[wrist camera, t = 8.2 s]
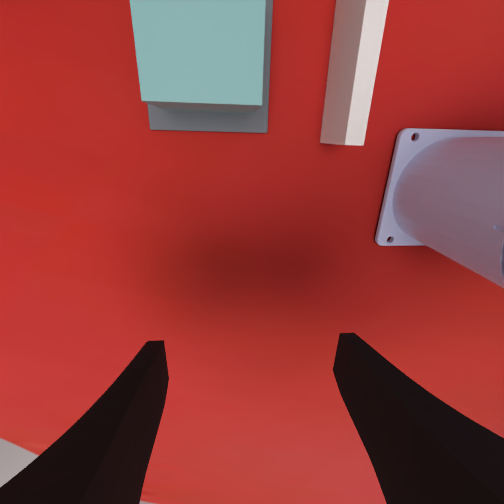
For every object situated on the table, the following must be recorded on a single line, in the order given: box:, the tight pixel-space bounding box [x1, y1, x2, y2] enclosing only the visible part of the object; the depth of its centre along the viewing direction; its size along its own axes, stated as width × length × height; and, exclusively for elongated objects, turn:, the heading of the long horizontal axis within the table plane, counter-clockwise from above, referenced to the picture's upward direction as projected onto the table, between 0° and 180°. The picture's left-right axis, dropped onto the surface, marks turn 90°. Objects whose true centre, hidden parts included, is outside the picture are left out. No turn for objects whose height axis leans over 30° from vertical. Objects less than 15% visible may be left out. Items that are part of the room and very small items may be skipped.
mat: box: [147, 0, 273, 133], centre depth 15 cm, size 7×7×1 cm
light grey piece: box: [320, 0, 389, 145], centre depth 13 cm, size 13×12×4 cm
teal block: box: [130, 0, 266, 114], centre depth 13 cm, size 5×5×5 cm
